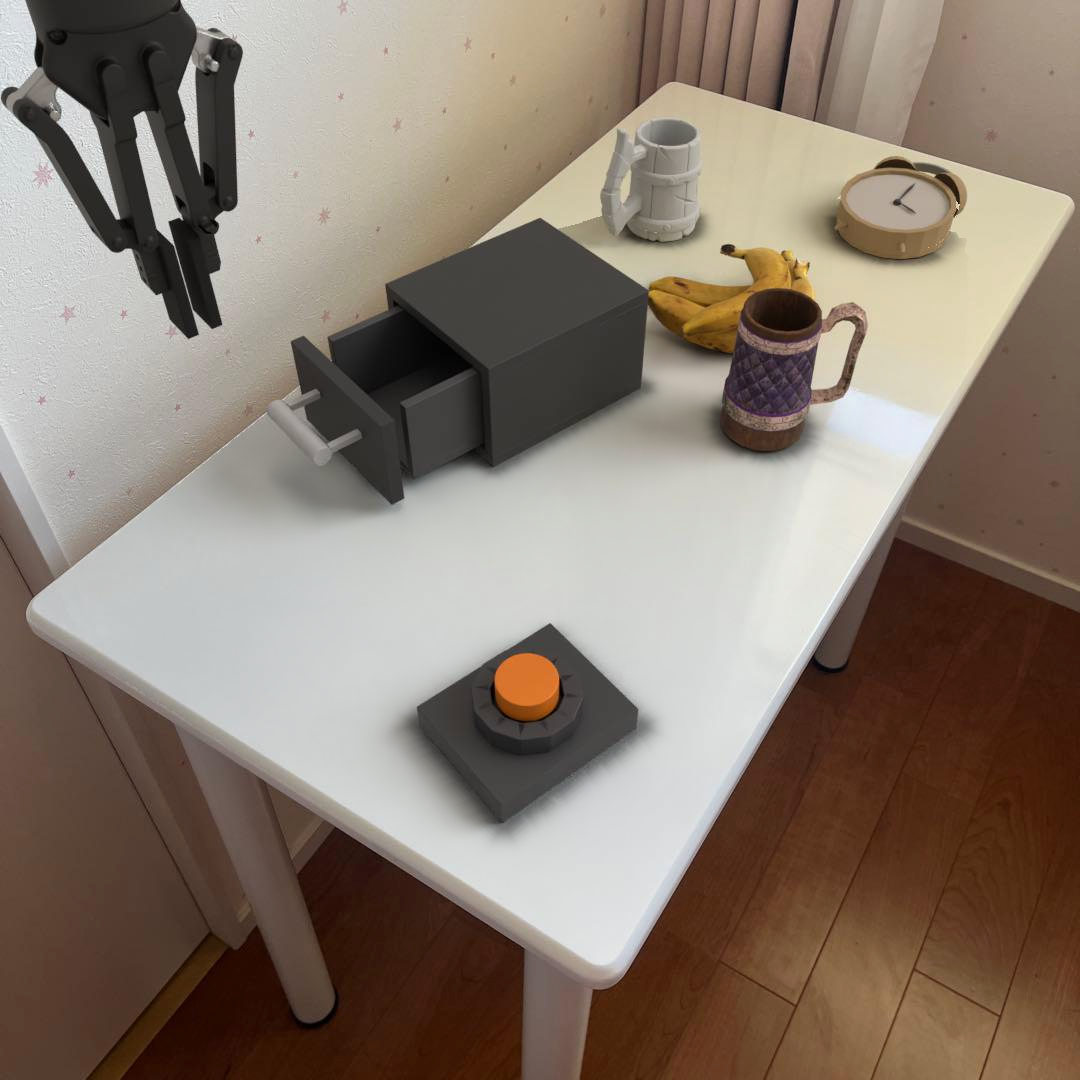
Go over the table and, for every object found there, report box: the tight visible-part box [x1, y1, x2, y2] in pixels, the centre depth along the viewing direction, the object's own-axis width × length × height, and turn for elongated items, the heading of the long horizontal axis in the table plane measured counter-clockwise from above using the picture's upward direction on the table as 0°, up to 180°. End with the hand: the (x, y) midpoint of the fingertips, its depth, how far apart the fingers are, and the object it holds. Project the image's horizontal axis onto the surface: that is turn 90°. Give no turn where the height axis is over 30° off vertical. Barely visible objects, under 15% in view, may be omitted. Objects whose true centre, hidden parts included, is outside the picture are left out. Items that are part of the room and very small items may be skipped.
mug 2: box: [719, 288, 869, 452], centre depth 88 cm, size 10×7×12 cm
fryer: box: [384, 217, 650, 468], centre depth 92 cm, size 16×14×10 cm
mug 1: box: [599, 116, 703, 243], centre depth 108 cm, size 8×12×12 cm, turn 128°
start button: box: [494, 653, 559, 721], centre depth 69 cm, size 4×4×2 cm
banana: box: [648, 243, 816, 354], centre depth 101 cm, size 15×19×6 cm
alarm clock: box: [833, 155, 968, 260], centre depth 112 cm, size 11×5×15 cm
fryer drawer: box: [266, 305, 485, 506], centre depth 87 cm, size 19×13×8 cm
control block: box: [416, 622, 639, 824], centre depth 71 cm, size 11×9×4 cm
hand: (195, 321), depth 71 cm, fingers closed
